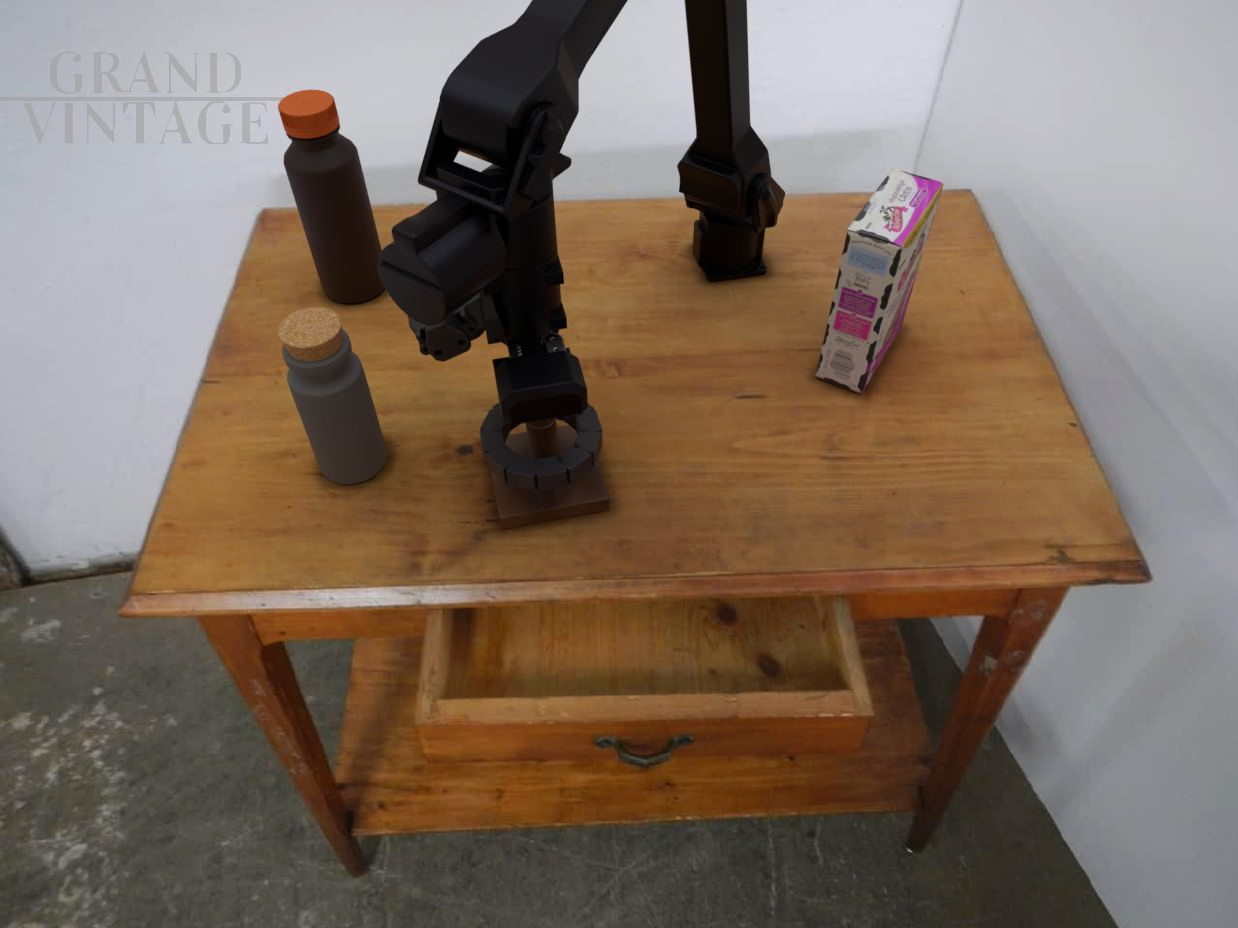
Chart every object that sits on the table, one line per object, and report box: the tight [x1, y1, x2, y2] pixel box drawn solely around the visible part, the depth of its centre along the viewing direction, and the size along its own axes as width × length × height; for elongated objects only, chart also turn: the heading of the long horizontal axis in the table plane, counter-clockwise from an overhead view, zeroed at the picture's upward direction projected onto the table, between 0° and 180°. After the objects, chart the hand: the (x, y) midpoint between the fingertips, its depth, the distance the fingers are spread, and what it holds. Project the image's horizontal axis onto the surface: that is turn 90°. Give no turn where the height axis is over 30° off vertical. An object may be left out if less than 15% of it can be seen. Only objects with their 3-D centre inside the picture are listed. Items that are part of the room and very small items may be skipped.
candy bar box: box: [815, 168, 945, 394], centre depth 84 cm, size 11×5×16 cm, turn 150°
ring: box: [479, 401, 603, 491], centre depth 76 cm, size 10×10×2 cm
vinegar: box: [277, 89, 385, 304], centre depth 90 cm, size 7×7×20 cm
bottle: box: [277, 306, 388, 485], centre depth 76 cm, size 6×6×15 cm
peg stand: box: [491, 418, 611, 530], centre depth 77 cm, size 9×9×8 cm
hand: (534, 403), depth 78 cm, fingers closed on ring, 2 cm apart
